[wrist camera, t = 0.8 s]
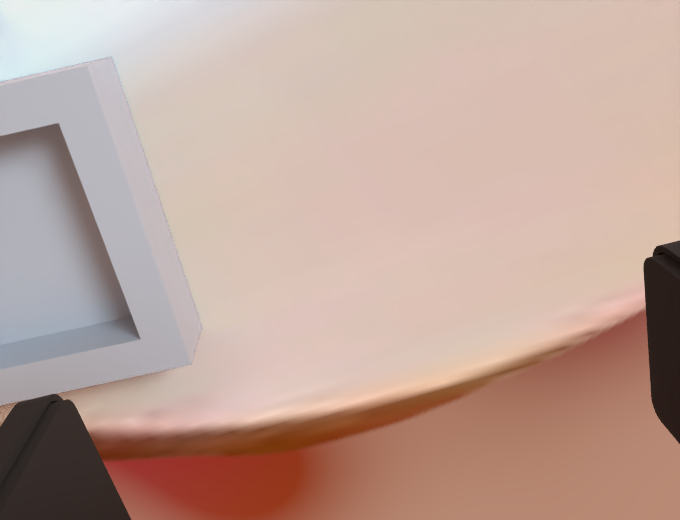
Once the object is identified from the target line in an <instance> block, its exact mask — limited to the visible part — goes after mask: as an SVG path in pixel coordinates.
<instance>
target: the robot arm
mask: <svg viewBox="0 0 680 520" xmlns="http://www.w3.org/2000/svg"><path fill="white" fill-rule="evenodd" d="M644 283H645V300H646V316H647V333H648V349H649V364H650V381H651V397H652V403H653V406H654V409H655V412H656V414H657V416H658V417H659V419H660V420H661V422H662V423H663V424H664V426H665V427H666V428H667V429H668V430H669V432H670V433H671V434H672V435H673V436H674V437H675V439H676V440H677V441H678V442H679V443H680V241H676V242H672V243H668V244H664V245H660V246H657V247H656V248H655V249H654V252H653V257H649V258H647V259H646V260H645V262H644ZM0 520H131V518H130V516H129V514H128V512H127V510H126V508H125V506H124V504H123V502H122V500H121V498H120V496H119V494H118V492H117V490H116V488H115V486H114V484H113V482H112V480H111V478H110V476H109V473H108V471H107V469H106V467H105V466H104V463H103V461H102V459H101V457H100V455H99V453H98V451H97V449H96V447H95V445H94V443H93V441H92V439H91V437H90V435H89V433H88V431H87V429H86V427H85V425H84V423H83V421H82V419H81V416H80V414H79V412H78V410H77V408H76V407H75V405H74V403H73V402H72V401H70V400H63V399H62V398H61V397H60V396H58V395H56V394H50V395H46V396H42V397H38V398H34V399H30V400H26V401H22V402H19V403H17V404H16V405H15V406H14V407H13V409H12V410H11V412H10V413H9V415H8V416H7V418H6V419H5V421H4V422H3V424H2V425H1V427H0Z"/></svg>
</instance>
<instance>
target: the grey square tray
mask: <svg viewBox="0 0 680 520" xmlns="http://www.w3.org/2000/svg"><path fill="white" fill-rule="evenodd" d="M201 329H202V325H201V322H200V319H199V316H198V313H197V310H196V307H195V304H194V301H193V298H192V295H191V292H190V289H189V286H188V283H187V280H186V277H185V274H184V271H183V268H182V265H181V262H180V259H179V256H178V253H177V250H176V247H175V244H174V241H173V238H172V235H171V232H170V229H169V226H168V223H167V220H166V217H165V214H164V211H163V208H162V205H161V202H160V199H159V196H158V193H157V190H156V187H155V184H154V181H153V178H152V175H151V172H150V169H149V166H148V163H147V160H146V157H145V154H144V151H143V148H142V145H141V142H140V139H139V136H138V133H137V130H136V127H135V124H134V121H133V118H132V115H131V112H130V109H129V106H128V103H127V100H126V97H125V94H124V91H123V88H122V85H121V82H120V79H119V76H118V73H117V70H116V67H115V64H114V61H113V58H112V57H108V58H104V59H99V60H95V61H90V62H86V63H82V64H77V65H73V66H68V67H64V68H59V69H55V70H50V71H46V72H42V73H37V74H33V75H28V76H24V77H19V78H15V79H11V80H6V81H2V82H0V405H5V404H10V403H15V402H19V401H24V400H29V399H33V398H38V397H42V396H46V395H50V394H57V393H61V392H66V391H71V390H75V389H80V388H85V387H89V386H94V385H99V384H104V383H108V382H113V381H118V380H122V379H127V378H132V377H136V376H141V375H146V374H150V373H155V372H160V371H164V370H169V369H174V368H178V367H183V366H188V365H192V361H193V358H194V354H195V351H196V347H197V344H198V340H199V336H200V333H201Z"/></svg>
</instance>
